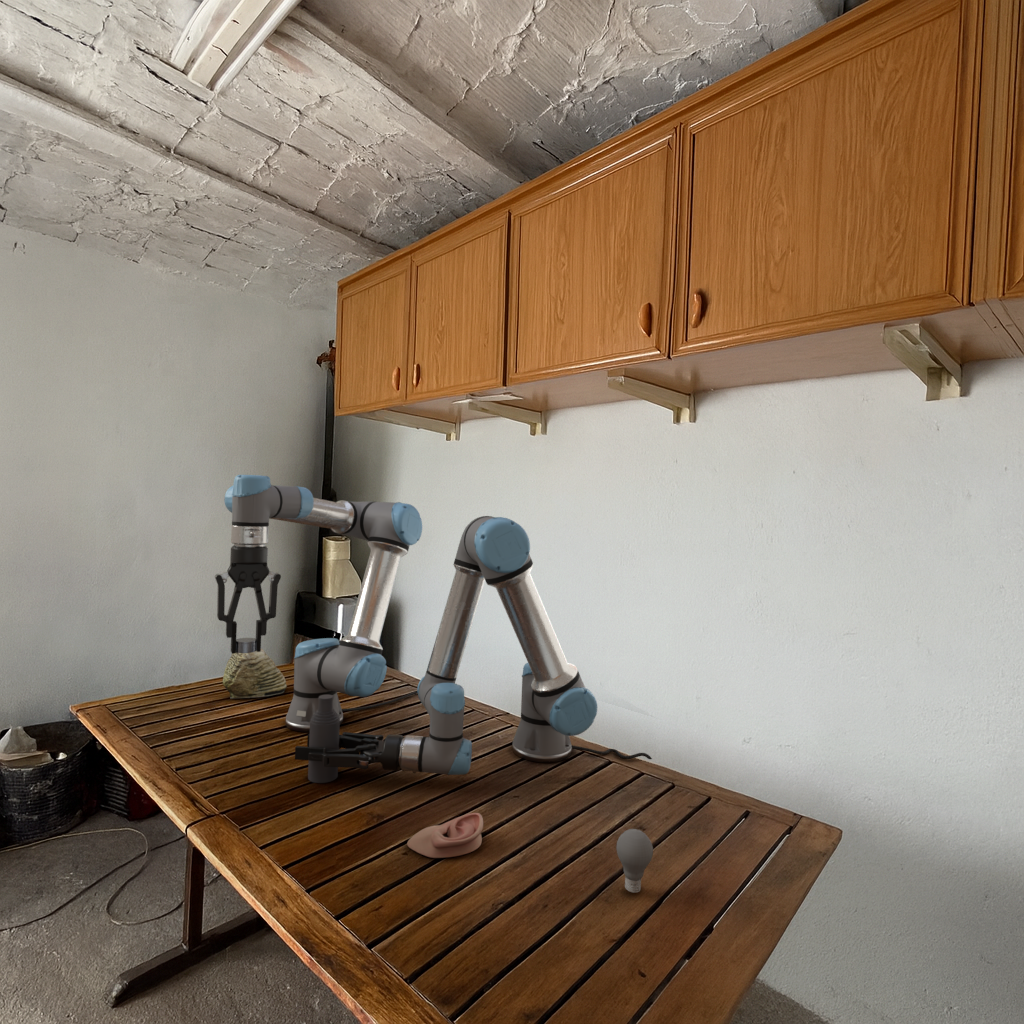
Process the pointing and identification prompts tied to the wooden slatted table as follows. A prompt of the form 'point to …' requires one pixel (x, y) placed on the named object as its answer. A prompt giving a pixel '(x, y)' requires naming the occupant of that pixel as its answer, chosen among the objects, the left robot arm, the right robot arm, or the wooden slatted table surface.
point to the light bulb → (634, 857)
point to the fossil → (253, 676)
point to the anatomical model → (449, 837)
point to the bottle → (324, 739)
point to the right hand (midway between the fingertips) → (302, 746)
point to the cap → (246, 645)
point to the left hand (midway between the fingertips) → (245, 650)
